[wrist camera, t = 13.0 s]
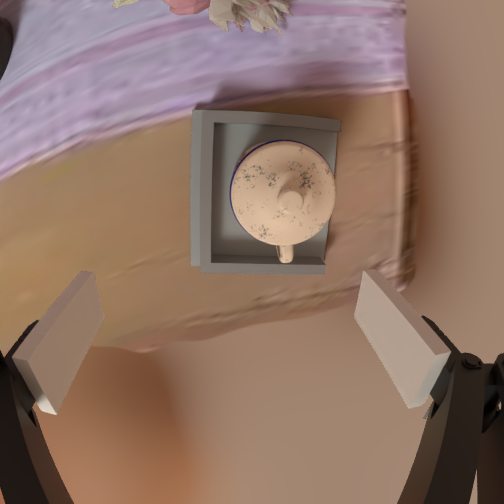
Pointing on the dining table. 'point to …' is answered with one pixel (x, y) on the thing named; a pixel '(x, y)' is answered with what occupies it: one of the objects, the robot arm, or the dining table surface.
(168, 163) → the dining table surface
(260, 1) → the flower
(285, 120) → the grey shallow square tray
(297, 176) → the teacup with lid
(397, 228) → the dining table surface
